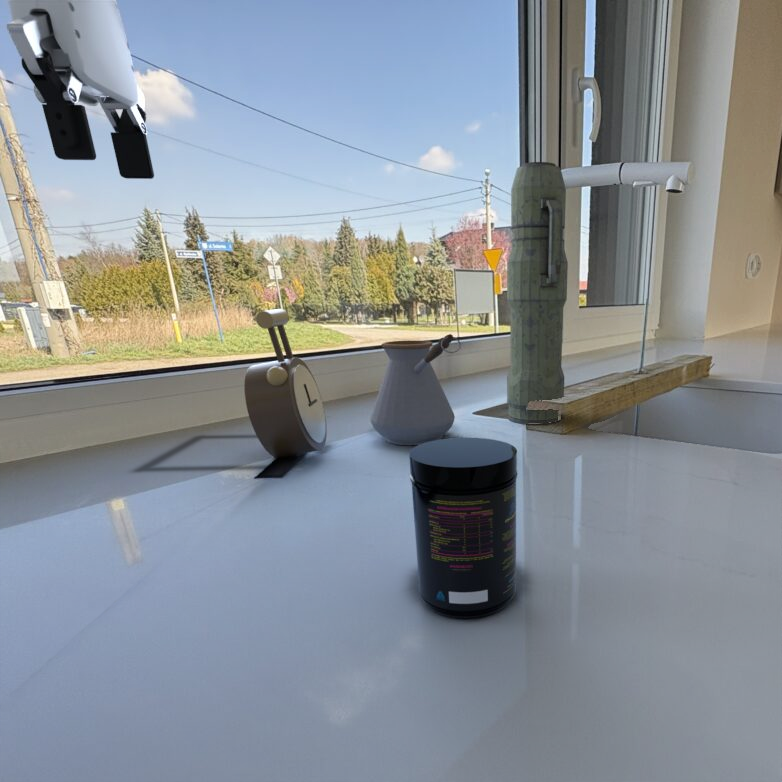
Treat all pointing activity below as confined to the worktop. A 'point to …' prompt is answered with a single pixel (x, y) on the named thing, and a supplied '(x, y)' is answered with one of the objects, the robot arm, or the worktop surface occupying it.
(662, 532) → the worktop surface
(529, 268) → the thermos
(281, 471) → the mat
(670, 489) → the worktop surface
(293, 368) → the clock
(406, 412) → the coffee pot
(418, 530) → the supplement container
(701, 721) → the worktop surface
